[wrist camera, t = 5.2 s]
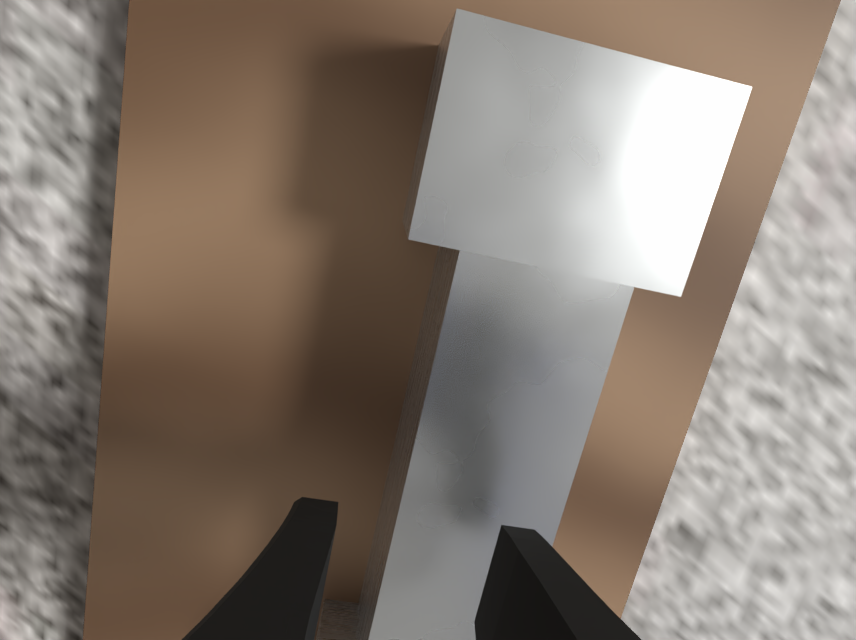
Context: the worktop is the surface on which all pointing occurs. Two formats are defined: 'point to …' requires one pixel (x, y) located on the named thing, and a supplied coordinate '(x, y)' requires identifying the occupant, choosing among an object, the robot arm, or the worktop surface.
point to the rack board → (361, 283)
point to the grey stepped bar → (525, 294)
